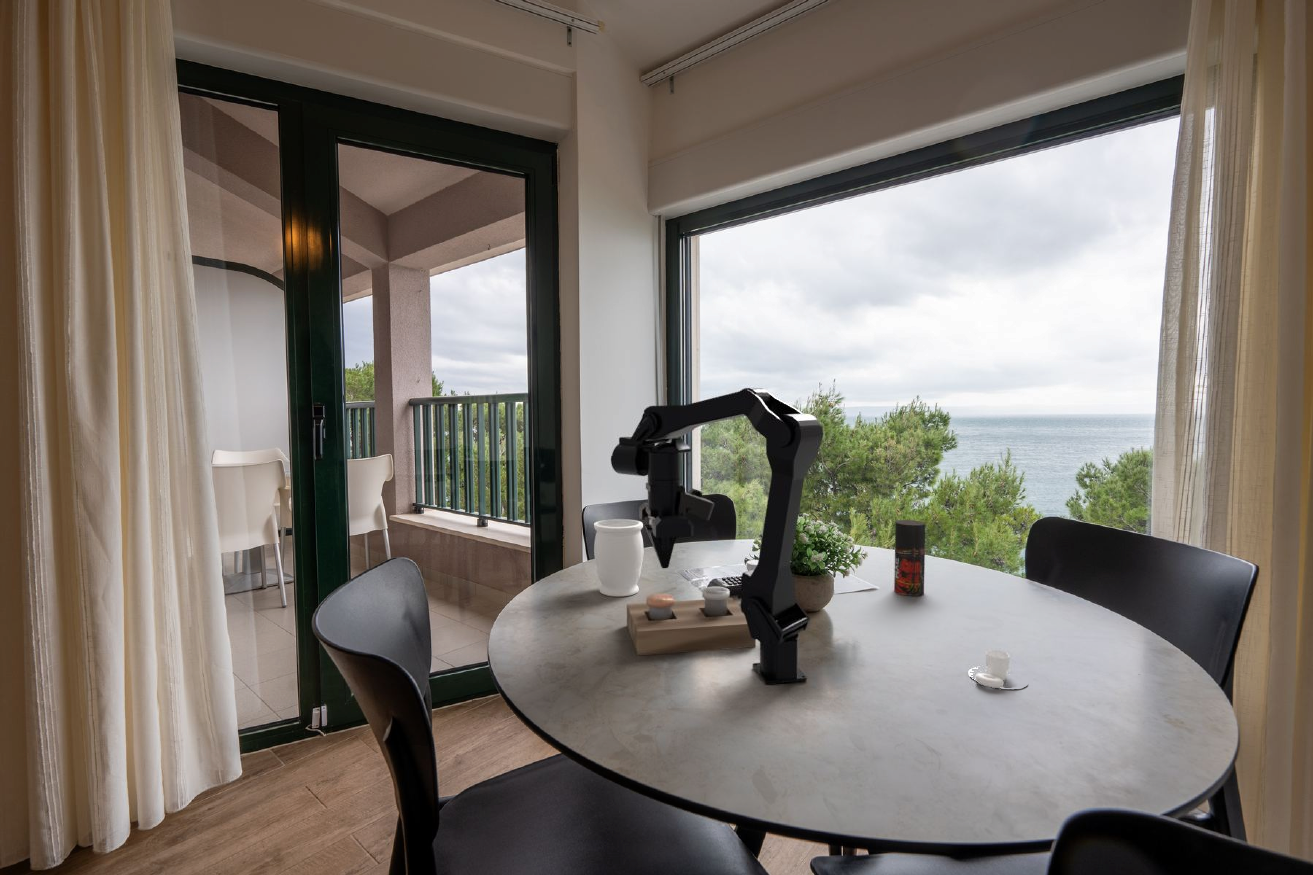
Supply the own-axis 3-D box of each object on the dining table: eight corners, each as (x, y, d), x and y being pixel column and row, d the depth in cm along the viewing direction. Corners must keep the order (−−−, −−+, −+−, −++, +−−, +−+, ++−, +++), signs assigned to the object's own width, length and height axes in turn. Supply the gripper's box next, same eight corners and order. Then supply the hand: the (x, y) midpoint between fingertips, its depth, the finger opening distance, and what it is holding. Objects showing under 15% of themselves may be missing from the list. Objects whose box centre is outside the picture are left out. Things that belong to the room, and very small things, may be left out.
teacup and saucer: (991, 697, 91) (992, 668, 91) (951, 673, 99) (952, 647, 99) (1041, 689, 93) (1042, 661, 93) (998, 667, 101) (999, 641, 101)
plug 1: (676, 624, 111) (676, 601, 111) (648, 625, 110) (648, 602, 110) (671, 614, 116) (671, 592, 115) (644, 616, 115) (644, 594, 115)
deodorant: (888, 589, 140) (889, 521, 139) (908, 586, 143) (909, 519, 142) (909, 597, 135) (910, 526, 134) (930, 593, 137) (931, 523, 136)
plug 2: (732, 616, 113) (732, 593, 112) (706, 618, 112) (706, 595, 112) (725, 607, 117) (725, 585, 117) (699, 609, 117) (699, 587, 116)
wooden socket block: (755, 646, 109) (755, 623, 109) (637, 655, 105) (637, 631, 105) (731, 618, 123) (731, 597, 122) (626, 625, 119) (626, 604, 119)
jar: (587, 596, 137) (586, 526, 136) (605, 582, 146) (604, 517, 145) (634, 600, 133) (634, 528, 133) (649, 586, 143) (649, 519, 142)
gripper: (724, 483, 104) (724, 579, 105) (696, 471, 122) (697, 552, 123) (656, 486, 102) (656, 583, 103) (638, 472, 120) (639, 555, 121)
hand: (664, 567), depth 112 cm, fingers closed
